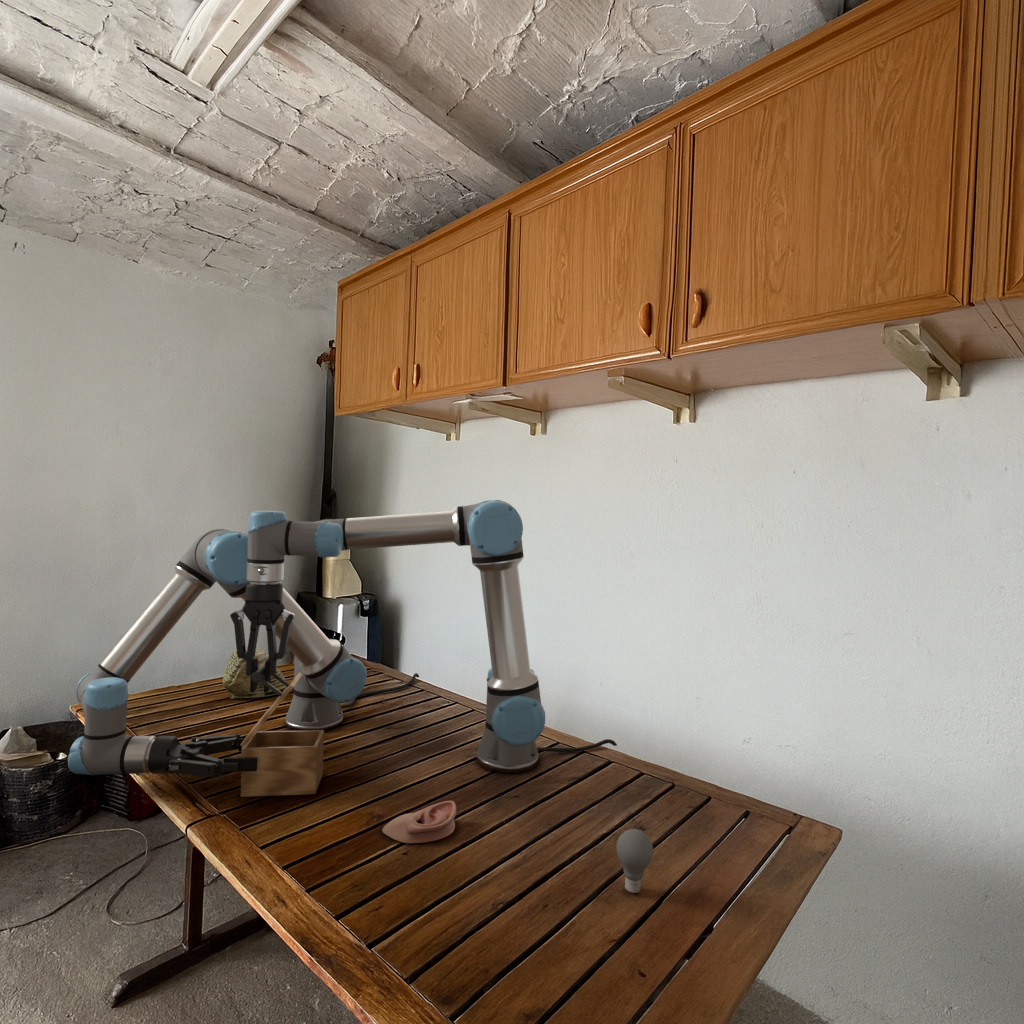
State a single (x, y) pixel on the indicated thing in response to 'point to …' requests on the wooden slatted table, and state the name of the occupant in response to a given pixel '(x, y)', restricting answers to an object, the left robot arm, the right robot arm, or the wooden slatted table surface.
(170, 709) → the wooden slatted table surface
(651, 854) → the light bulb
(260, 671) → the lid
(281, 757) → the chest
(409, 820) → the anatomical model
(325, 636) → the left robot arm
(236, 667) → the fossil
